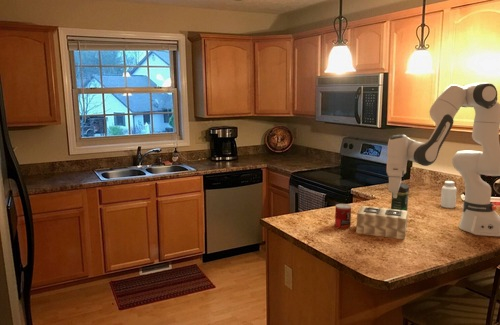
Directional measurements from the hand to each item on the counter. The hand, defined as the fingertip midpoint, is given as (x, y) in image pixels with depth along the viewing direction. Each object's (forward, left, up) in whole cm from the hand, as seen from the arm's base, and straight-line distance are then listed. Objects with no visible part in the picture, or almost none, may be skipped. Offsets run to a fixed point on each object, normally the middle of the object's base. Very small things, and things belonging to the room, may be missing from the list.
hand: (395, 197), depth 197 cm
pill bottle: (-26, -61, -18) cm, 68 cm away
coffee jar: (-1, -27, -18) cm, 32 cm away
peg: (0, 0, -17) cm, 17 cm away
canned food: (+24, 0, -18) cm, 30 cm away
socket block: (+5, 0, -18) cm, 19 cm away
